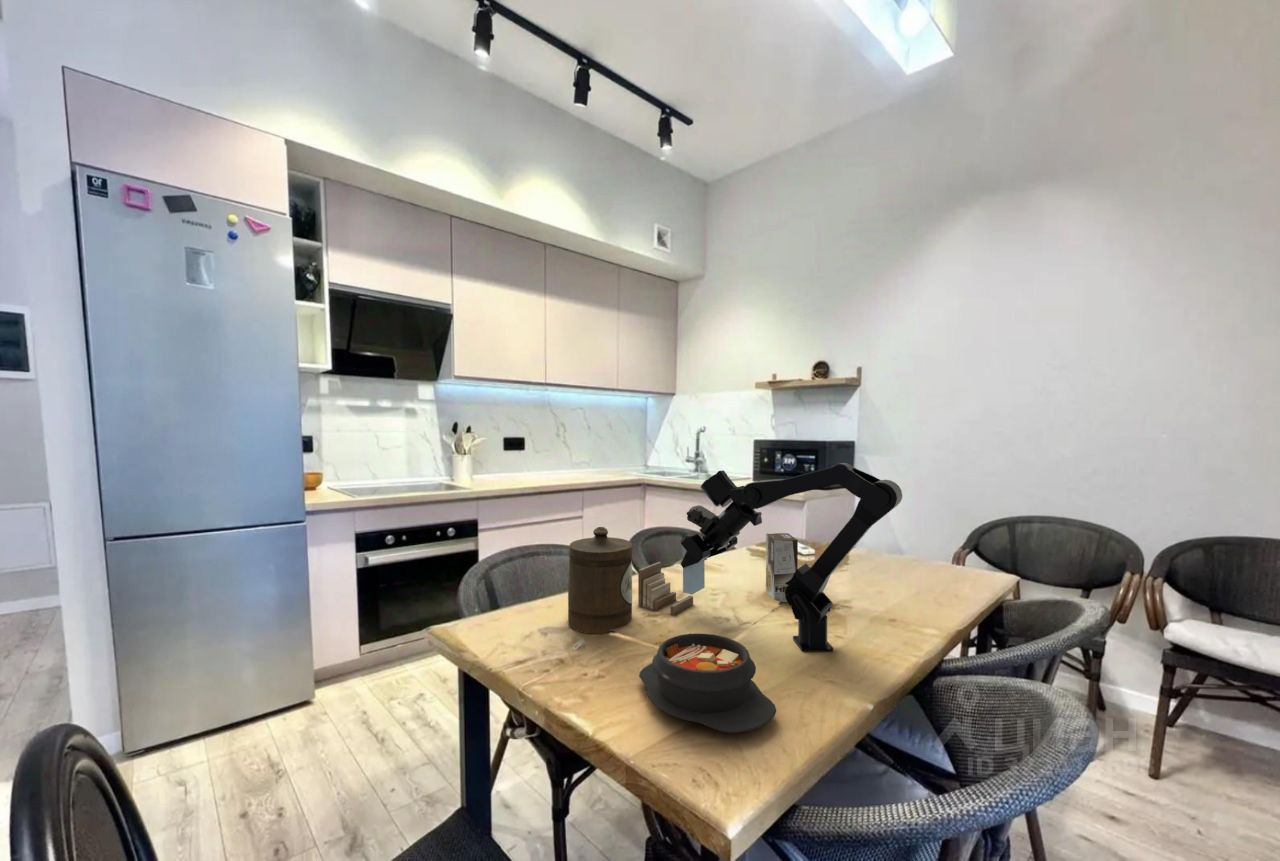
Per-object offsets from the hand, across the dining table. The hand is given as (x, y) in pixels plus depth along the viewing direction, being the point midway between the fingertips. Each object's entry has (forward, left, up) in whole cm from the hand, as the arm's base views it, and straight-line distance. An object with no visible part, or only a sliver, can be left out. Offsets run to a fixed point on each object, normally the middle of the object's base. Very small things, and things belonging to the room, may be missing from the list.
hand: (688, 563), depth 122 cm
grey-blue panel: (-1, -1, -6) cm, 6 cm away
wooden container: (-4, +21, -13) cm, 25 cm away
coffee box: (+13, -26, -13) cm, 31 cm away
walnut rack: (+4, +5, -12) cm, 14 cm away
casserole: (-39, +1, -13) cm, 41 cm away
